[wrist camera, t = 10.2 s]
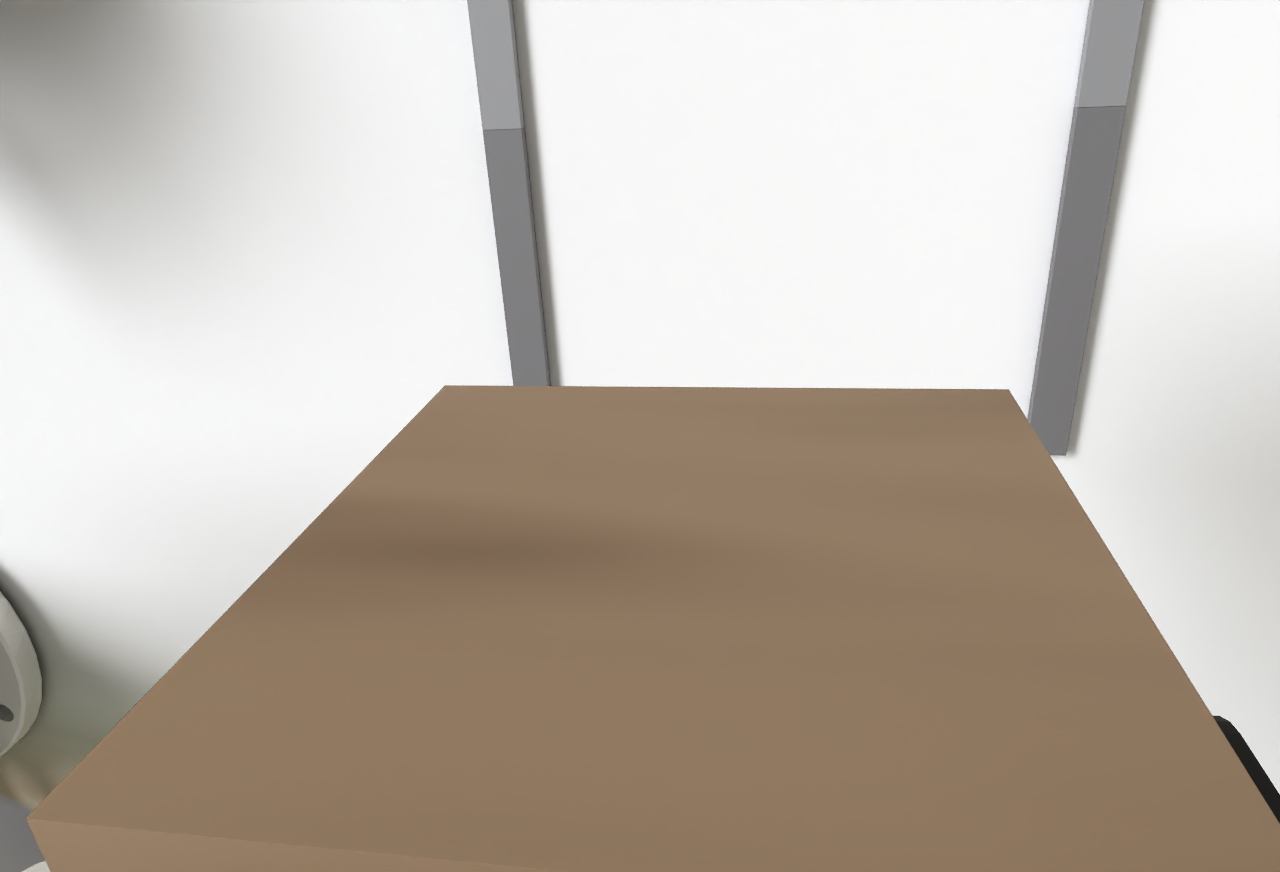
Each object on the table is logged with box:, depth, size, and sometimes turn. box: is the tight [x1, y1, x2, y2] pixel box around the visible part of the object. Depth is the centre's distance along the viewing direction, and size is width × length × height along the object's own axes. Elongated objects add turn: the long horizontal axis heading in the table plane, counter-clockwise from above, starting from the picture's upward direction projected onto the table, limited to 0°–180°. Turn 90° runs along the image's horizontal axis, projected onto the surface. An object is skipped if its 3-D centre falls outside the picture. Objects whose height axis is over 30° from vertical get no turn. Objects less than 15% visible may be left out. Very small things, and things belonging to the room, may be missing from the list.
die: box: [26, 386, 1280, 872], centre depth 8 cm, size 6×6×6 cm
